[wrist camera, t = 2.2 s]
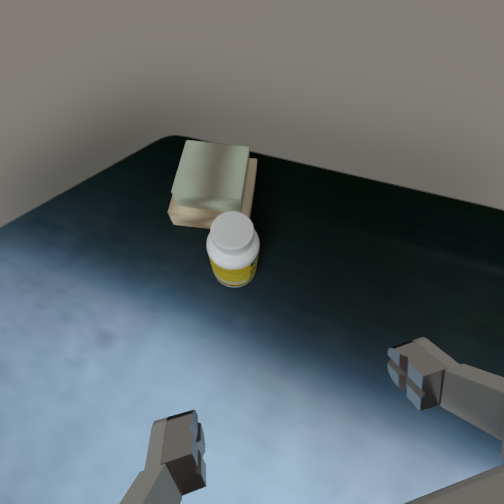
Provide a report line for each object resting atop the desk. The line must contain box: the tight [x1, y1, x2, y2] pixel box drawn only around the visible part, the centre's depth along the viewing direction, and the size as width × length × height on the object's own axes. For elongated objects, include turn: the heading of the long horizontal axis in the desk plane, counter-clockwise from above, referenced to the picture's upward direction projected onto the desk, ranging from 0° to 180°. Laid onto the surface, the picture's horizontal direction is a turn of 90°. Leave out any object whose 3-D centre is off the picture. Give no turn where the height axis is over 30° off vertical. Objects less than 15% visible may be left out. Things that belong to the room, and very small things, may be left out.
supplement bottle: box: [207, 211, 260, 287], centre depth 28 cm, size 5×5×10 cm
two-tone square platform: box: [168, 140, 257, 229], centre depth 34 cm, size 10×10×6 cm
